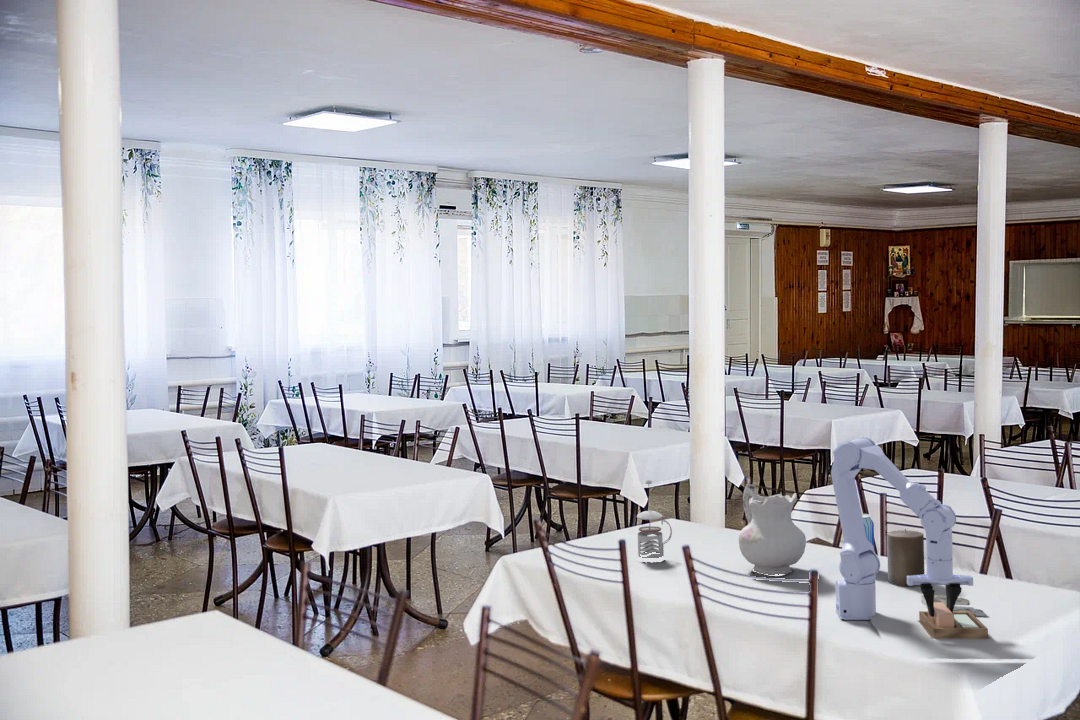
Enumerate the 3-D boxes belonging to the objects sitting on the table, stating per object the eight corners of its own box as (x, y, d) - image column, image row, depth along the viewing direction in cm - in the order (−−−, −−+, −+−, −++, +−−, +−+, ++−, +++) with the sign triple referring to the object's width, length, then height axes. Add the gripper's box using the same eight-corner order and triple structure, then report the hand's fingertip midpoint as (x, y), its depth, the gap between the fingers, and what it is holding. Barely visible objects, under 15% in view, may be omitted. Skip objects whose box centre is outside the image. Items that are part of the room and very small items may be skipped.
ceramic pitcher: (720, 573, 305) (714, 491, 302) (760, 556, 317) (754, 478, 315) (781, 587, 288) (776, 500, 286) (820, 568, 301) (815, 485, 299)
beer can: (880, 570, 298) (879, 516, 297) (857, 574, 295) (856, 519, 294) (861, 564, 306) (860, 511, 305) (838, 568, 303) (837, 514, 302)
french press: (634, 556, 326) (631, 477, 325) (670, 555, 325) (668, 476, 324) (635, 563, 316) (633, 482, 315) (673, 562, 315) (671, 481, 314)
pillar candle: (930, 586, 280) (929, 531, 280) (894, 587, 280) (893, 532, 280) (916, 577, 290) (916, 524, 289) (882, 578, 290) (881, 525, 289)
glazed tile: (963, 635, 235) (963, 627, 235) (951, 622, 245) (951, 614, 245) (978, 636, 235) (978, 627, 235) (966, 622, 245) (966, 614, 245)
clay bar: (938, 636, 236) (938, 614, 236) (927, 622, 246) (927, 602, 245) (954, 636, 235) (954, 614, 235) (942, 623, 245) (942, 602, 245)
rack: (932, 641, 234) (931, 628, 234) (917, 623, 248) (917, 611, 248) (989, 642, 233) (989, 628, 233) (972, 623, 246) (972, 611, 246)
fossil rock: (918, 601, 269) (918, 592, 269) (979, 602, 266) (979, 593, 265) (930, 620, 251) (930, 611, 251) (995, 623, 248) (995, 613, 248)
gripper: (911, 562, 237) (912, 620, 237) (976, 562, 235) (977, 620, 236) (904, 555, 244) (905, 611, 244) (968, 554, 242) (968, 611, 243)
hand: (940, 615), depth 241 cm, fingers closed on clay bar, 3 cm apart
